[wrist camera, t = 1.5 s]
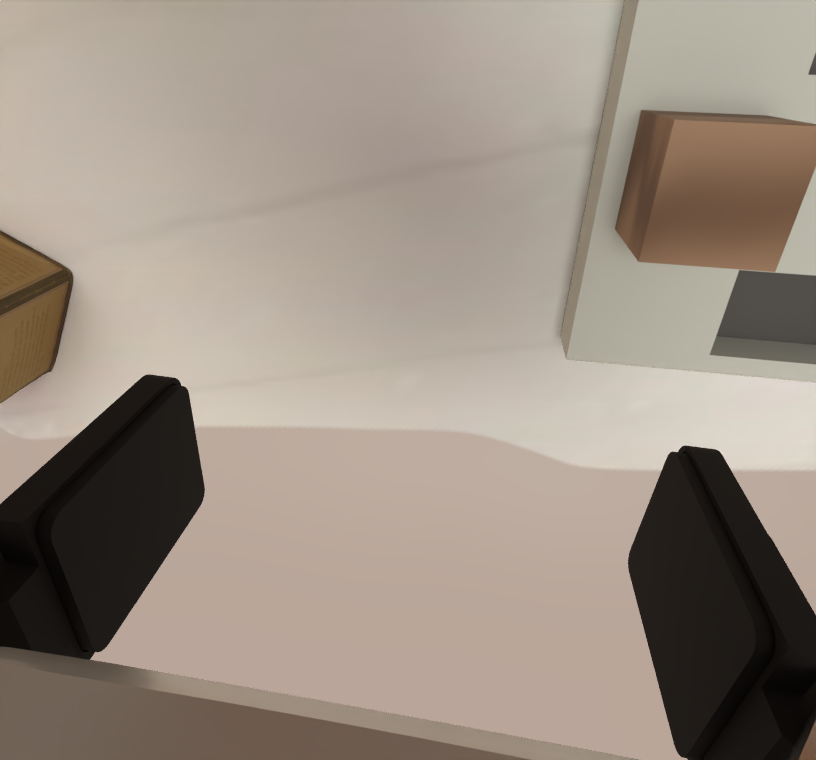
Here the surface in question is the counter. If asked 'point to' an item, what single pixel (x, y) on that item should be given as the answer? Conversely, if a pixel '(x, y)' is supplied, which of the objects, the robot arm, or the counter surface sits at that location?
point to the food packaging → (29, 314)
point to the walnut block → (715, 188)
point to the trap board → (692, 285)
